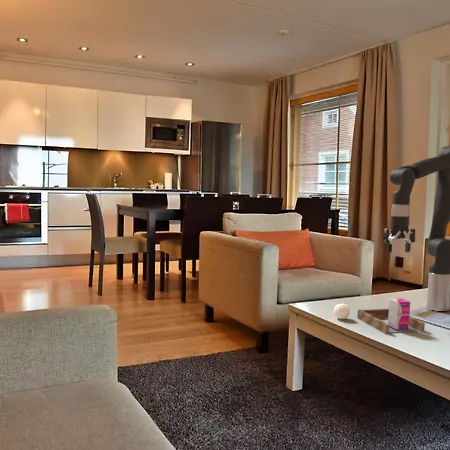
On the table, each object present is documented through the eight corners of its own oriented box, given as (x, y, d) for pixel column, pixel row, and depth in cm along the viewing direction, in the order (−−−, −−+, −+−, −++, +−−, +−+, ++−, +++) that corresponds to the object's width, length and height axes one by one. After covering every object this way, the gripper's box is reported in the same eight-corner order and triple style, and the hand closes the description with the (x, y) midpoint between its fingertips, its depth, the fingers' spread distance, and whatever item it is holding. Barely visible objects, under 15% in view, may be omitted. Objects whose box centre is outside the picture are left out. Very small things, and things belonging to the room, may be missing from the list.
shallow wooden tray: (357, 318, 201) (357, 310, 201) (392, 316, 205) (393, 308, 205) (385, 333, 180) (385, 325, 180) (424, 331, 184) (424, 323, 184)
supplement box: (396, 330, 184) (397, 302, 183) (387, 326, 189) (388, 298, 188) (409, 329, 185) (410, 301, 184) (399, 325, 191) (401, 297, 190)
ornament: (337, 315, 204) (348, 302, 203) (345, 325, 199) (356, 312, 197) (327, 309, 201) (339, 296, 200) (335, 319, 195) (347, 306, 194)
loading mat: (377, 326, 190) (377, 325, 190) (404, 324, 193) (404, 324, 193) (389, 333, 181) (389, 332, 181) (418, 331, 184) (418, 330, 184)
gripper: (409, 214, 208) (407, 250, 209) (380, 214, 204) (378, 251, 206) (420, 215, 200) (418, 253, 202) (390, 215, 197) (388, 254, 198)
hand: (398, 252), depth 204 cm, fingers open, 8 cm apart
